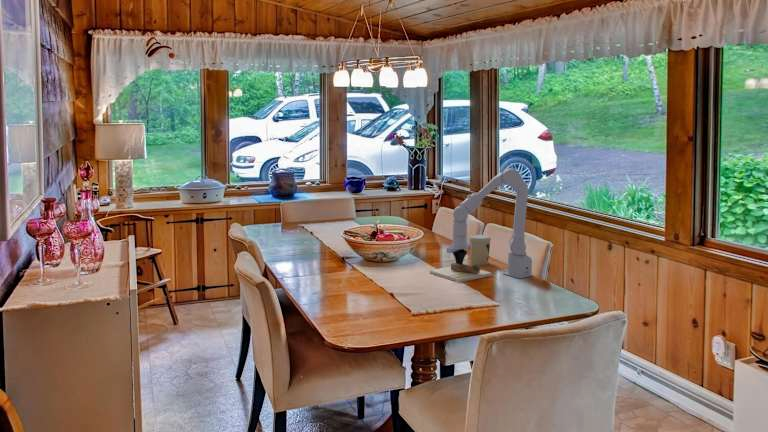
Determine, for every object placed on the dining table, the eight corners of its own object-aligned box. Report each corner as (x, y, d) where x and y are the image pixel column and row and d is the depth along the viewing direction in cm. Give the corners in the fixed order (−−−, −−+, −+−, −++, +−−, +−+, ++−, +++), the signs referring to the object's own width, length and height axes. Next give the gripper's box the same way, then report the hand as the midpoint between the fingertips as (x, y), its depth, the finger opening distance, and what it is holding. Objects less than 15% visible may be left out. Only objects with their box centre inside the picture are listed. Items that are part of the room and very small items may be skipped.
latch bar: (479, 272, 278) (479, 265, 278) (476, 273, 276) (476, 267, 276) (453, 268, 285) (454, 261, 285) (450, 269, 283) (451, 263, 283)
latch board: (491, 275, 280) (491, 272, 280) (458, 282, 269) (458, 279, 269) (461, 267, 294) (461, 264, 294) (429, 273, 284) (429, 270, 284)
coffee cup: (491, 265, 297) (492, 238, 295) (469, 265, 297) (470, 238, 295) (488, 260, 306) (489, 234, 304) (467, 260, 306) (468, 234, 304)
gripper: (462, 231, 290) (462, 262, 292) (441, 236, 280) (440, 268, 282) (476, 233, 285) (475, 265, 287) (454, 238, 275) (454, 271, 277)
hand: (459, 267), depth 284 cm, fingers closed, pressing on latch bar
